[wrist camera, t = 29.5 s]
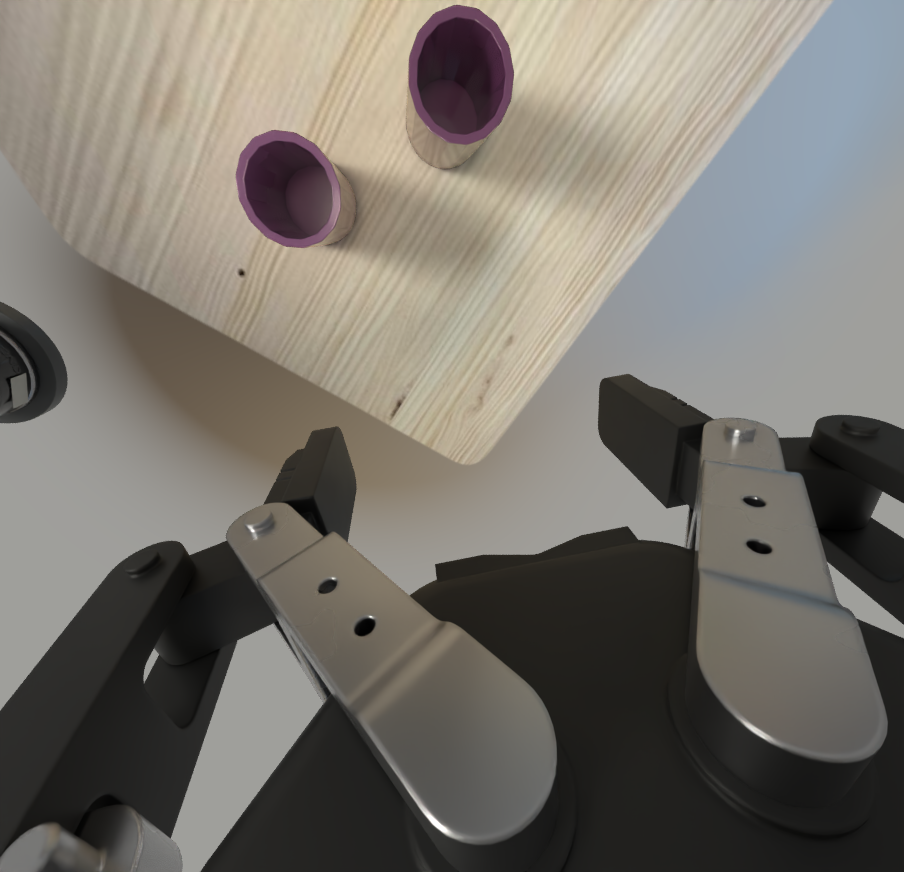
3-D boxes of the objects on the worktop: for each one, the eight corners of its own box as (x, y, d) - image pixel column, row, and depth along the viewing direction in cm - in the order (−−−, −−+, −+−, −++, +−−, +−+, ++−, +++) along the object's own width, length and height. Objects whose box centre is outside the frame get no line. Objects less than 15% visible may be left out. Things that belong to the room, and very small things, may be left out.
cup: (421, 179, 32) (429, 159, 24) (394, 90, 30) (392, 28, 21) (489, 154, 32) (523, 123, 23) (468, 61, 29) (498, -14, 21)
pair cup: (303, 254, 34) (270, 261, 25) (267, 176, 31) (214, 152, 22) (368, 230, 34) (356, 228, 25) (336, 148, 31) (311, 114, 22)
